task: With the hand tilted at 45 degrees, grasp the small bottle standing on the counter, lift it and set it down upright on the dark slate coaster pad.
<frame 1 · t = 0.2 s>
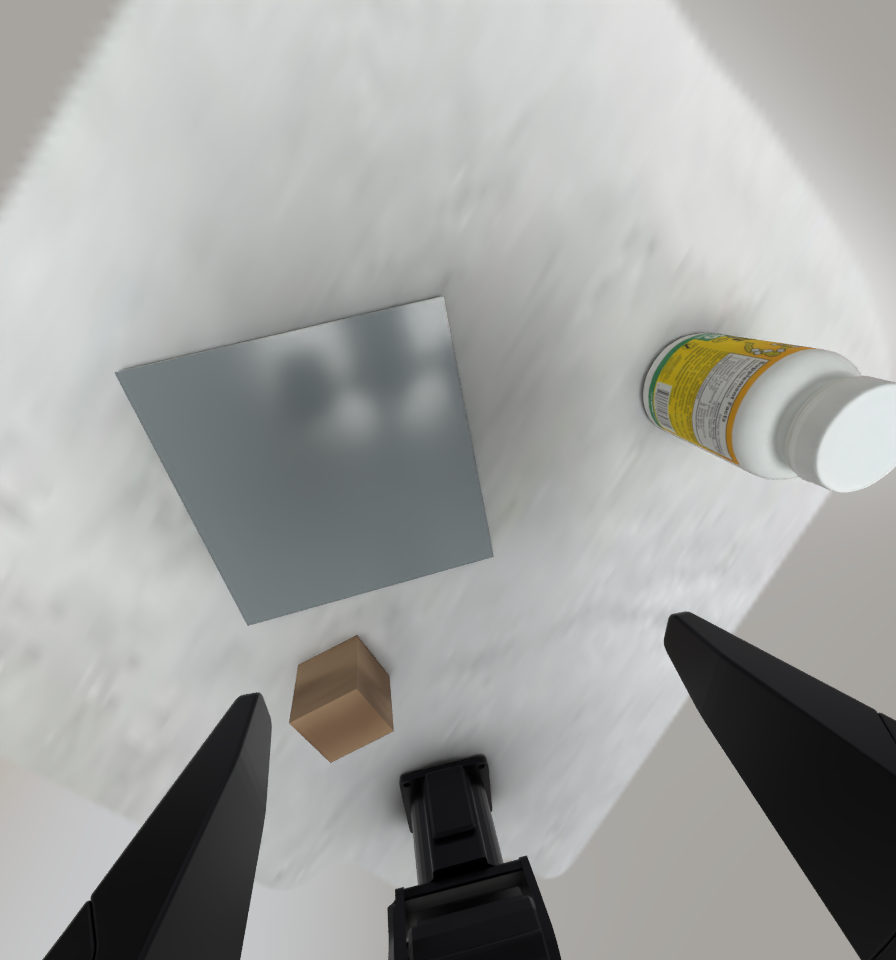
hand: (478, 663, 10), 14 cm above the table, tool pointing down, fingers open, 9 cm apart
coaster: (335, 474, 23), on the table
supplement bottle: (683, 382, 24), on the table
walnut block: (345, 669, 28), on the table
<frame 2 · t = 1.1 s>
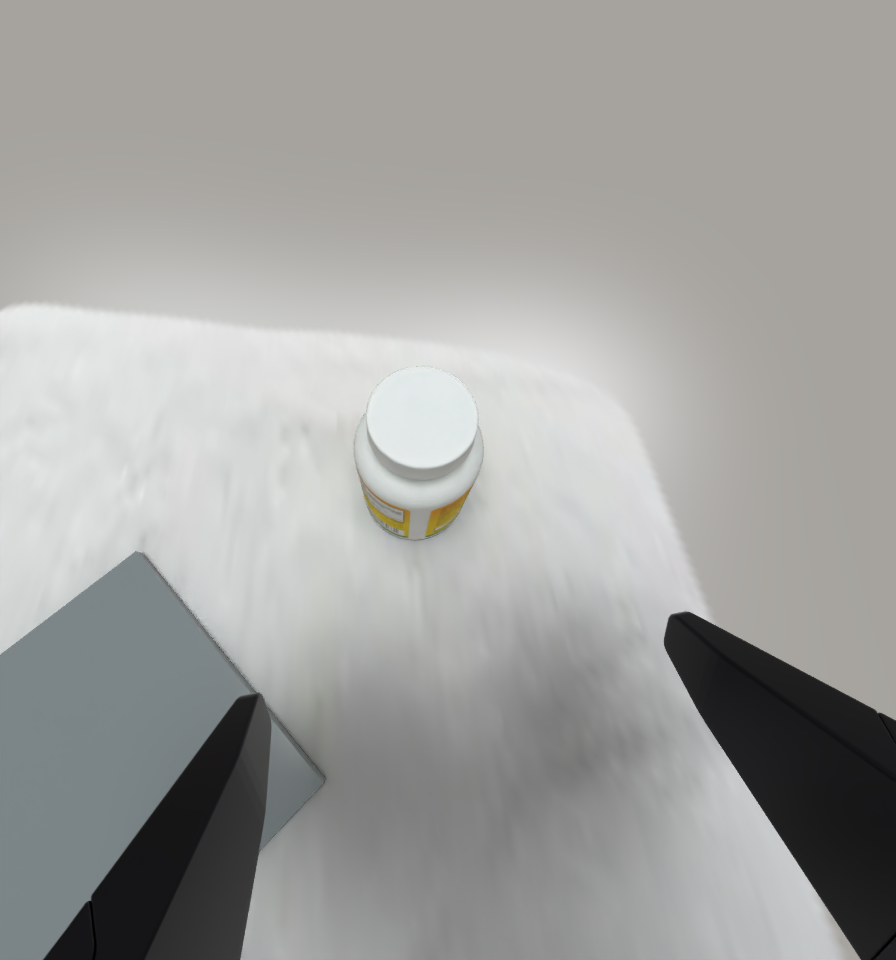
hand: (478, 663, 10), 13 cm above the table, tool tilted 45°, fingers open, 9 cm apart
coaster: (91, 783, 19), on the table
supplement bottle: (415, 494, 25), on the table
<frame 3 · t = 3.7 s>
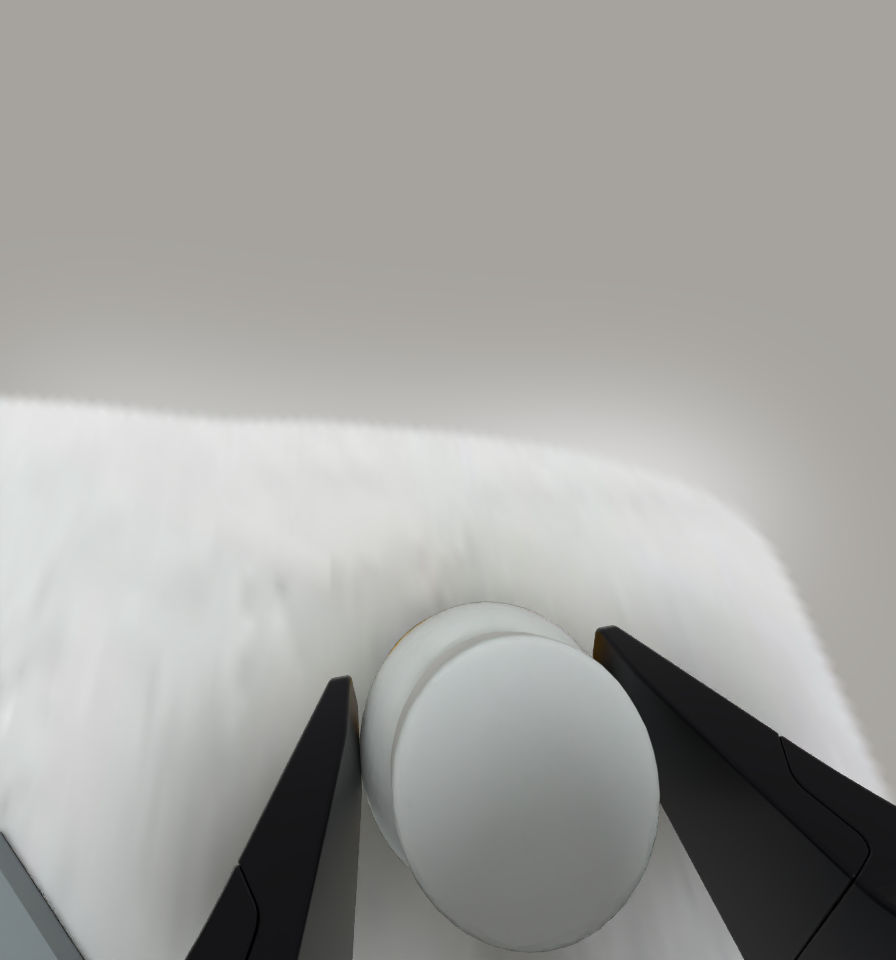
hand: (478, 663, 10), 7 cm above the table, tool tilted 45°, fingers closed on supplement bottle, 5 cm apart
supplement bottle: (455, 692, 16), on the table, touching gripper
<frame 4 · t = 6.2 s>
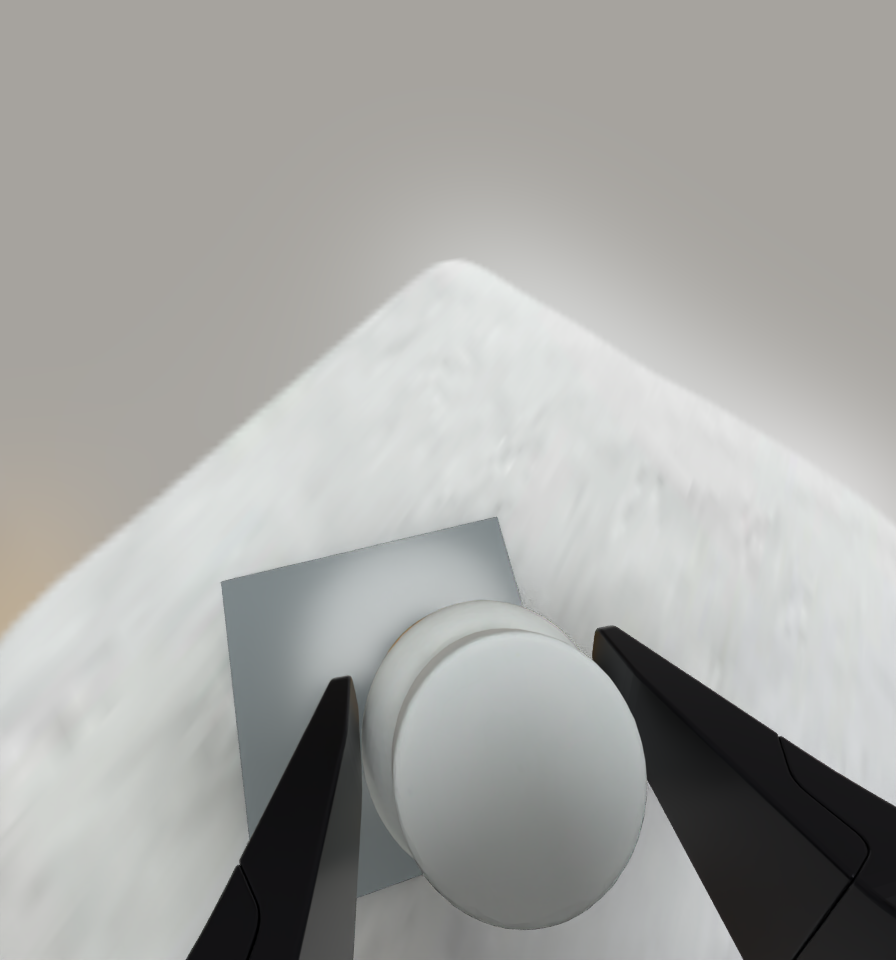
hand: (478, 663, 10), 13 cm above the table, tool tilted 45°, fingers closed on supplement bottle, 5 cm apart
coaster: (395, 692, 21), on the table
supplement bottle: (453, 688, 16), point 6 cm above the table, touching gripper
when the fingers open (9 cm above the table, at t = 8.4 s): supplement bottle drops 1 cm, resting on coaster.
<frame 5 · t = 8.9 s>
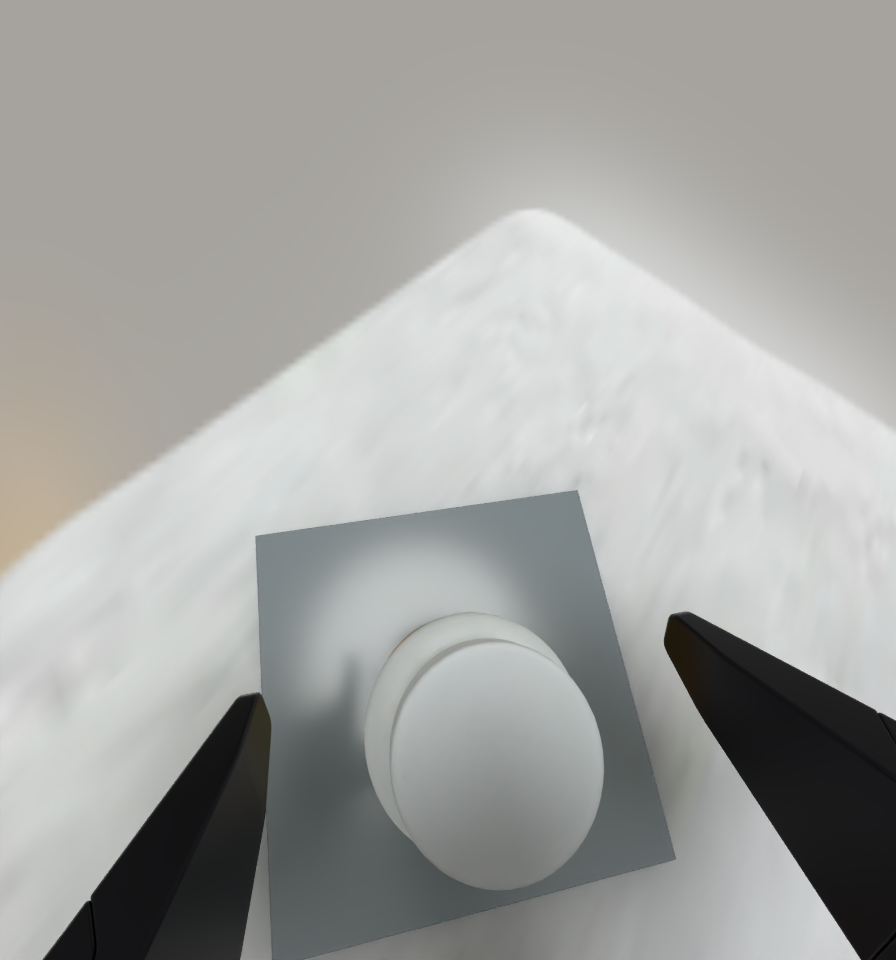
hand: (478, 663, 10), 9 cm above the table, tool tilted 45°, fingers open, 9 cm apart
coaster: (450, 685, 18), on the table
supplement bottle: (450, 691, 17), resting on coaster
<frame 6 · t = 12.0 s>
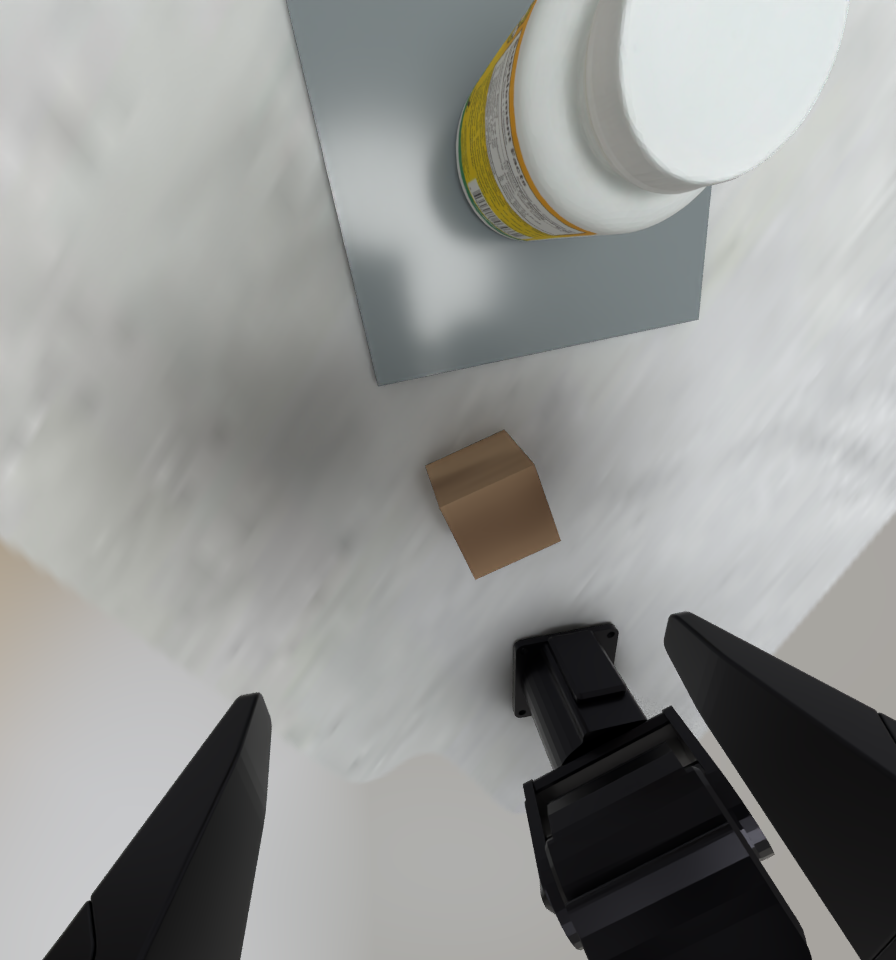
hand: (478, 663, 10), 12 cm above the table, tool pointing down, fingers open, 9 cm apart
coaster: (525, 151, 16), on the table
supplement bottle: (528, 155, 16), resting on coaster
walnut block: (479, 481, 22), on the table
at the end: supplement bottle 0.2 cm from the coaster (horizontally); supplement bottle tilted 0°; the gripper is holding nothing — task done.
